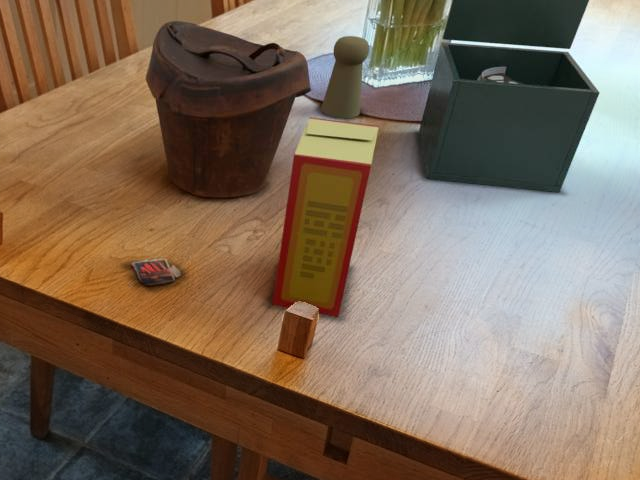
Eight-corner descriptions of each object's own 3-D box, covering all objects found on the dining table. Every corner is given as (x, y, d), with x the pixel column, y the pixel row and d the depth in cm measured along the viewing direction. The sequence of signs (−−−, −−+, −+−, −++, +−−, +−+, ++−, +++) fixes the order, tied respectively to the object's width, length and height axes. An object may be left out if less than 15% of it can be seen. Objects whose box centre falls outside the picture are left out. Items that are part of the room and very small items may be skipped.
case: (315, 205, 89) (341, 53, 77) (155, 215, 86) (158, 59, 74) (274, 147, 102) (291, 11, 91) (135, 154, 99) (134, 14, 88)
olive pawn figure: (330, 101, 117) (343, 29, 110) (365, 110, 114) (380, 37, 107) (314, 112, 113) (326, 38, 106) (350, 121, 110) (364, 46, 104)
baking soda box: (338, 316, 70) (371, 161, 60) (272, 304, 72) (294, 151, 62) (348, 268, 77) (379, 122, 67) (288, 257, 79) (310, 113, 69)
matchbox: (147, 289, 73) (147, 285, 73) (124, 266, 77) (124, 262, 76) (186, 278, 75) (186, 274, 75) (162, 255, 78) (162, 252, 78)
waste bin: (559, 192, 93) (600, 92, 84) (426, 178, 95) (453, 80, 87) (535, 142, 105) (568, 51, 97) (418, 131, 108) (441, 42, 100)
